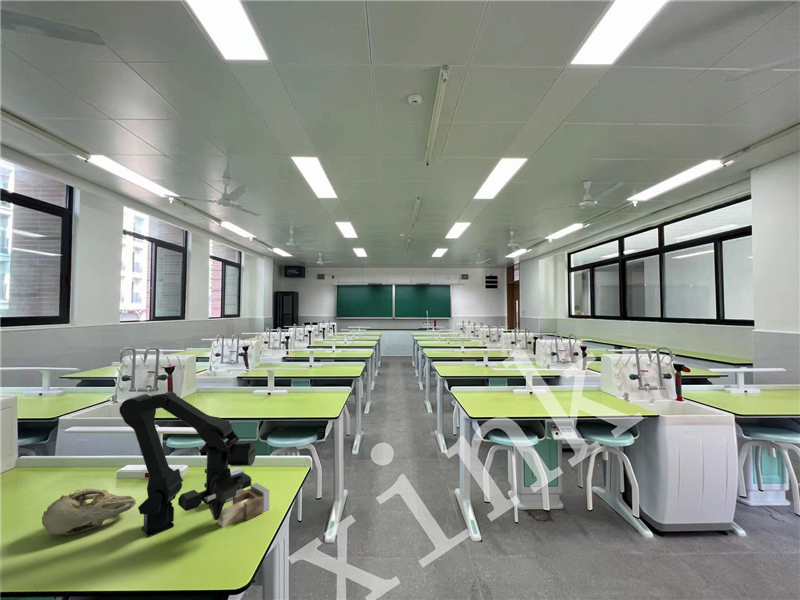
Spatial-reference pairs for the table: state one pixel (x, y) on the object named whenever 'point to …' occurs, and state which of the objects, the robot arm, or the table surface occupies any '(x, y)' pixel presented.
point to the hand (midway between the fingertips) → (216, 519)
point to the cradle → (250, 503)
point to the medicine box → (233, 472)
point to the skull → (83, 510)
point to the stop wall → (262, 494)
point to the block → (232, 513)
